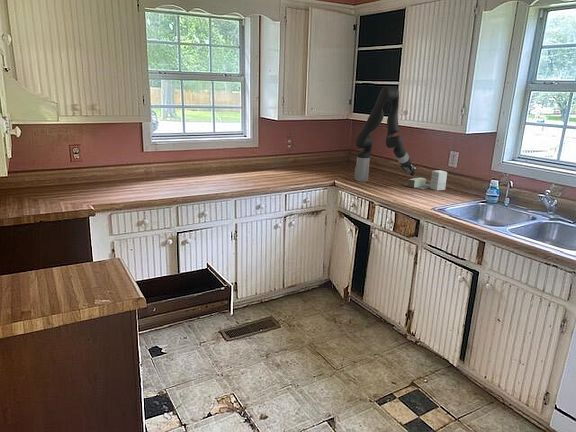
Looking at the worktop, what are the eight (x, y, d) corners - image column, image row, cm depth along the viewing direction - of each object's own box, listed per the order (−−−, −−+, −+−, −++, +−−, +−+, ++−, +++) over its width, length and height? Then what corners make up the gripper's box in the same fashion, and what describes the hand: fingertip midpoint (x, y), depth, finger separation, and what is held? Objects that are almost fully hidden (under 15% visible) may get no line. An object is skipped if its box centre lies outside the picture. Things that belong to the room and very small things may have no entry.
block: (408, 179, 311) (419, 177, 319) (407, 186, 313) (419, 184, 320) (414, 180, 307) (425, 178, 315) (413, 187, 309) (425, 185, 317)
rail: (417, 182, 328) (418, 179, 327) (419, 182, 329) (419, 179, 328) (436, 186, 316) (437, 183, 316) (437, 186, 317) (438, 183, 316)
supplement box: (438, 187, 313) (440, 170, 310) (445, 190, 307) (447, 172, 303) (429, 188, 311) (431, 170, 307) (436, 190, 304) (439, 172, 300)
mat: (403, 185, 318) (403, 184, 318) (417, 182, 328) (417, 182, 328) (422, 189, 306) (422, 188, 306) (436, 186, 316) (436, 186, 316)
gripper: (414, 155, 294) (423, 172, 305) (398, 153, 304) (407, 169, 314) (408, 164, 292) (418, 180, 303) (392, 161, 302) (402, 177, 313)
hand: (412, 174), depth 309 cm, fingers closed
